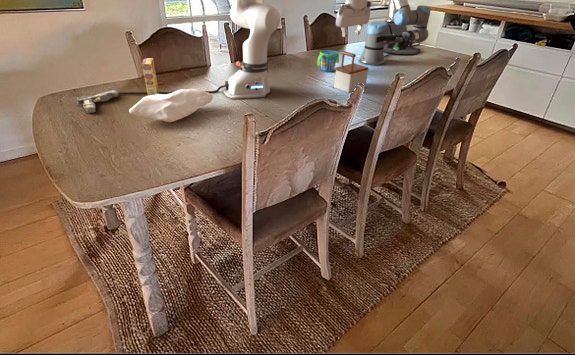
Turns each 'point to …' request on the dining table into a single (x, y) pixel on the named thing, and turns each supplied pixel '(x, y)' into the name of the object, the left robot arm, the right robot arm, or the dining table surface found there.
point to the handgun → (95, 100)
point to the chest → (349, 80)
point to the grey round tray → (400, 49)
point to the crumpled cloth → (171, 104)
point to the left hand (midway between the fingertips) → (350, 35)
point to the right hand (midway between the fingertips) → (386, 42)
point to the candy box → (150, 76)
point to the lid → (350, 65)
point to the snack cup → (328, 60)
